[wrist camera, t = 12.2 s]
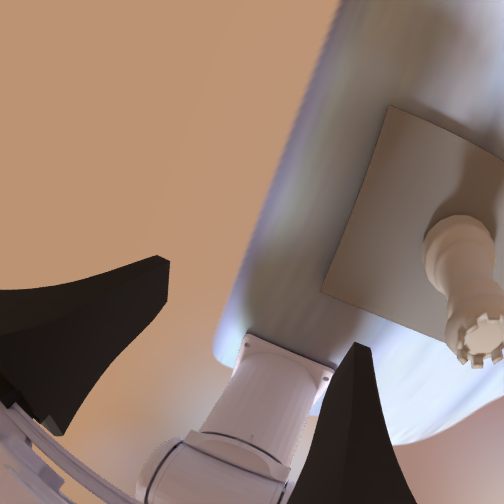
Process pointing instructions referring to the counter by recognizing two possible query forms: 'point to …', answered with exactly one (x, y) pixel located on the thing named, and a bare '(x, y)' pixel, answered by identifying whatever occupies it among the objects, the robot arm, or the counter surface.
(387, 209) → the mat
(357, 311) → the counter surface
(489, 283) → the rook chess piece
